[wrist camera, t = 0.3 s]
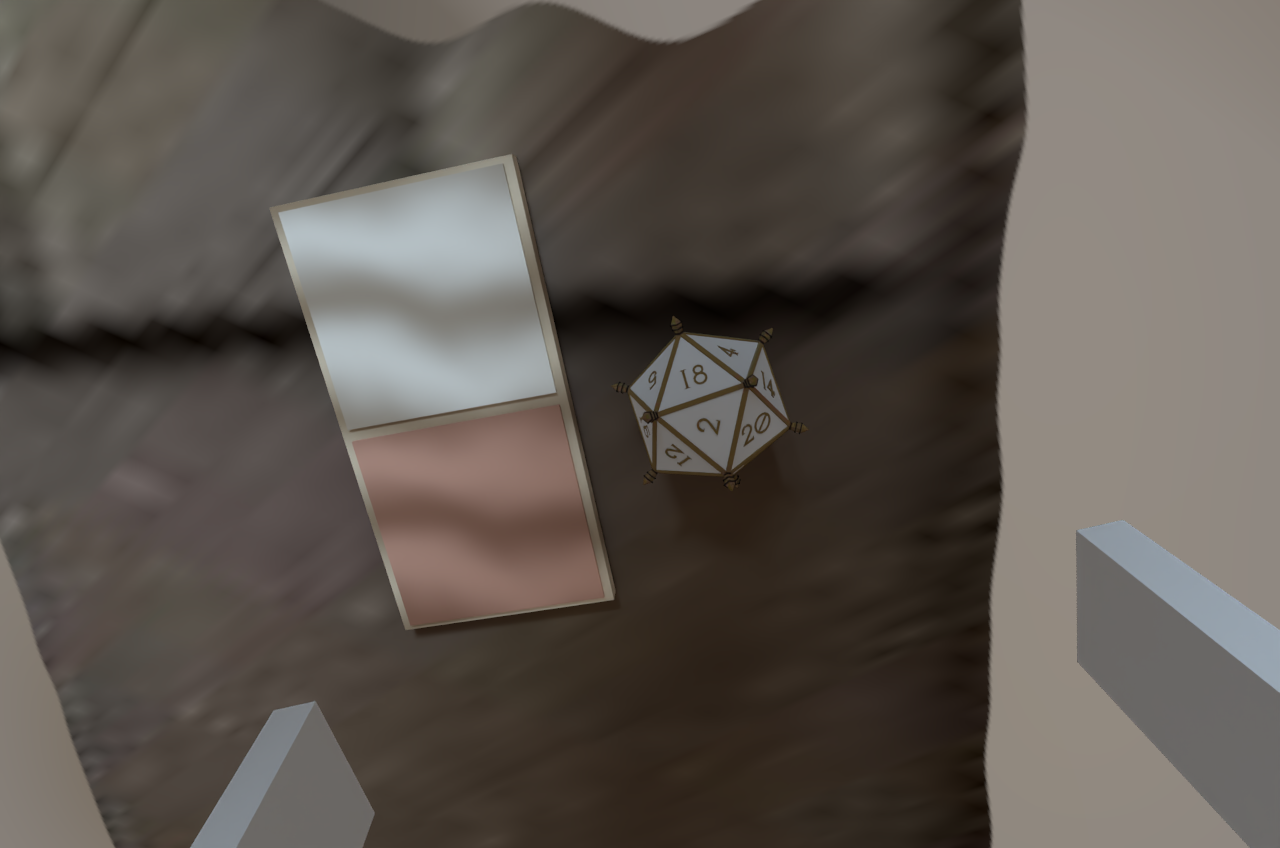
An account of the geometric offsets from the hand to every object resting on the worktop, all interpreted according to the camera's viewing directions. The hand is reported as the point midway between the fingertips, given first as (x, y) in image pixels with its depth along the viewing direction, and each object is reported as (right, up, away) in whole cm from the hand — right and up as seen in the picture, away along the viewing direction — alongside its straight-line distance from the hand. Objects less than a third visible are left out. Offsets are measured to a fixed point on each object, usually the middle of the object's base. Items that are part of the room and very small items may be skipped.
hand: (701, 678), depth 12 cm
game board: (-11, +5, +27) cm, 30 cm away
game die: (+3, +6, +26) cm, 27 cm away
